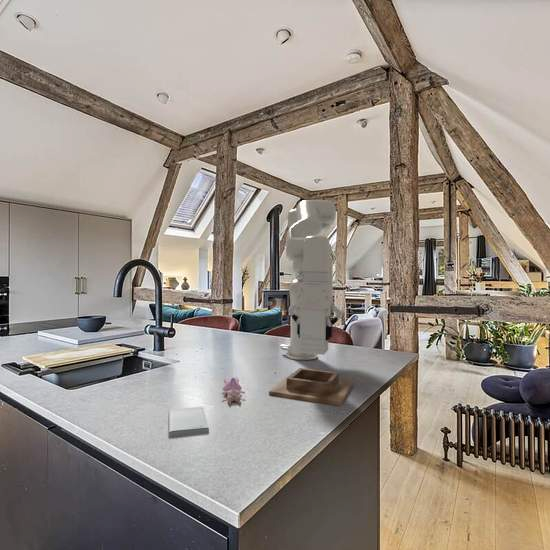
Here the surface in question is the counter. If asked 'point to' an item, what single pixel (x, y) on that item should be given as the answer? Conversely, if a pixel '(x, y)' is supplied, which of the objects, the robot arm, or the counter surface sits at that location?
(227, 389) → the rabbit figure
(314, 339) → the supplement box
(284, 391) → the walnut holder
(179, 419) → the hard drive
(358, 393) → the counter surface
